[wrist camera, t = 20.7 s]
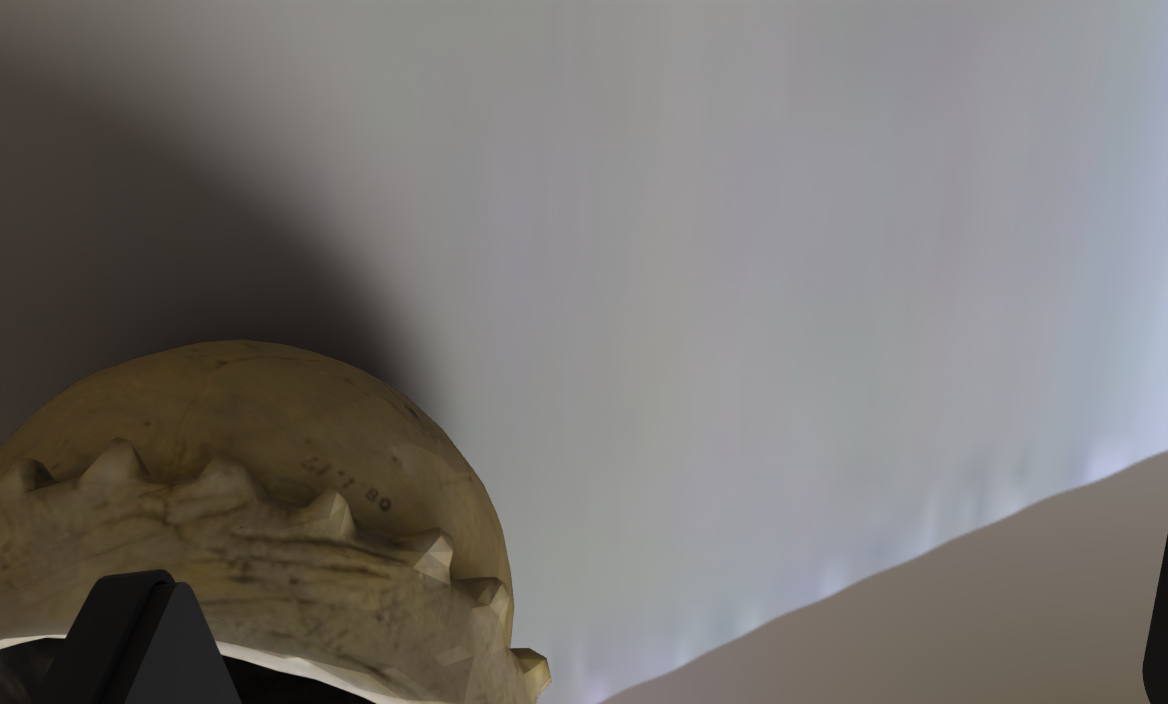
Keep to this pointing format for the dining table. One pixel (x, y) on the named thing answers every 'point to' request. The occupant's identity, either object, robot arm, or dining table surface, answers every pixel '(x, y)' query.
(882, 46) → the dining table surface
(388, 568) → the clay pot
